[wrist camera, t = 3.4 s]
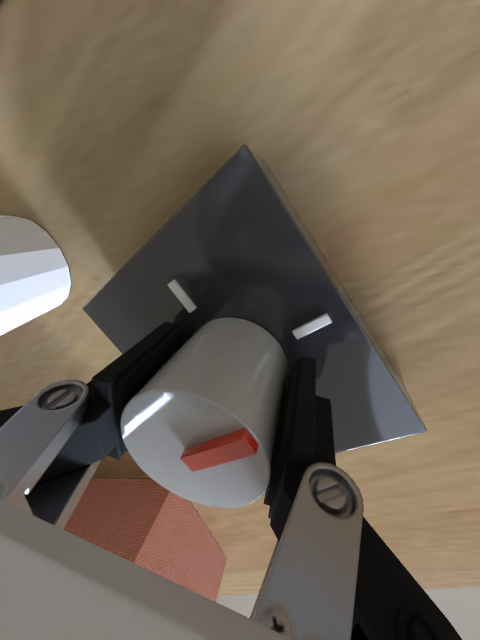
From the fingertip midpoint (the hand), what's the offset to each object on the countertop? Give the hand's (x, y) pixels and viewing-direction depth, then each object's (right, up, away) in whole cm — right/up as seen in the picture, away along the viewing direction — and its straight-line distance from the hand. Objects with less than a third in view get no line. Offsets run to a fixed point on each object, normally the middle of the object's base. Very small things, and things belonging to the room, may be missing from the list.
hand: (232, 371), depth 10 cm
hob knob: (0, 0, 0) cm, 1 cm away
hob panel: (+1, +1, +3) cm, 4 cm away
